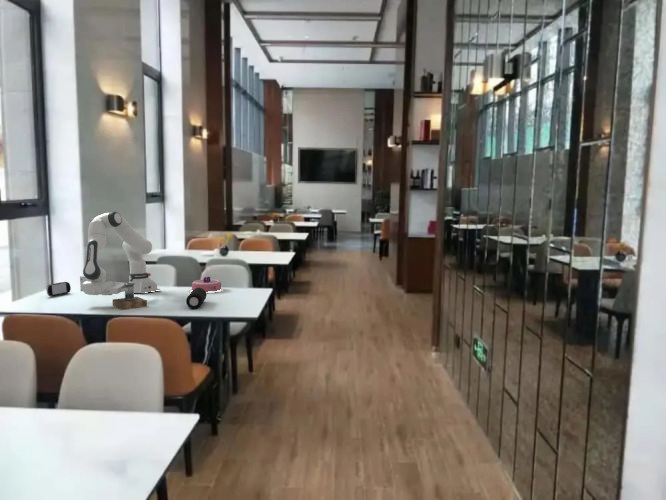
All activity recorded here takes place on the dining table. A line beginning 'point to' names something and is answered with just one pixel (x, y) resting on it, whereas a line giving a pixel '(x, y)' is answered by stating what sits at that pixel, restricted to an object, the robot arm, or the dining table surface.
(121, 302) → the stand
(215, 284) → the cake
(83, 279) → the light bulb box
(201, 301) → the portable speaker
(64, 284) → the gaming console
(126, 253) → the robot arm
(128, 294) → the cylinder
